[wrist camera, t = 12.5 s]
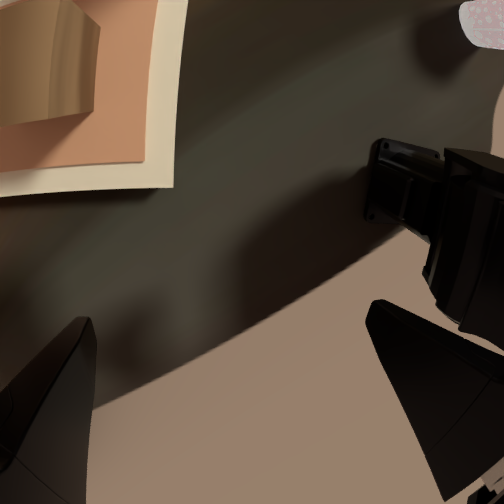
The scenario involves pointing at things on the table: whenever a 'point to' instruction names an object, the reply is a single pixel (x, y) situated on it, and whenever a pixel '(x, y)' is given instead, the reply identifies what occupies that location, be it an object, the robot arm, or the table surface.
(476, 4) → the beverage cup
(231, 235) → the table surface
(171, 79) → the plinth
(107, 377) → the table surface
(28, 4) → the walnut block
